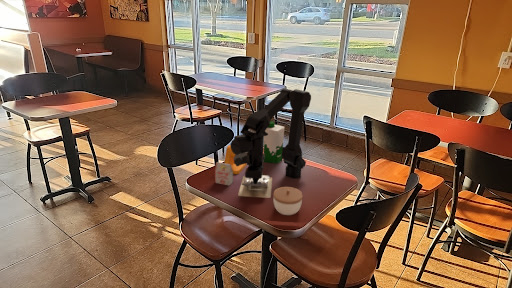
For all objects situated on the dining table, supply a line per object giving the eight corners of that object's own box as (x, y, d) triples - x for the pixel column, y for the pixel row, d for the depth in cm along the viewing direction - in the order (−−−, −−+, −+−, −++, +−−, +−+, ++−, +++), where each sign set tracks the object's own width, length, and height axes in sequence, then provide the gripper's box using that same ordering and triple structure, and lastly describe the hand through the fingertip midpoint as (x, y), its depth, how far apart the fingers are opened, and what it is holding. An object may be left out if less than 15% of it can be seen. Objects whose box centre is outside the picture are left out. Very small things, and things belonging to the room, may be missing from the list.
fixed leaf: (268, 177, 145) (269, 172, 144) (267, 188, 136) (267, 183, 135) (246, 176, 146) (246, 171, 145) (243, 186, 137) (244, 181, 136)
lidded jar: (271, 218, 118) (272, 196, 114) (273, 202, 128) (274, 181, 124) (301, 221, 116) (302, 198, 113) (301, 205, 126) (303, 183, 123)
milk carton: (269, 156, 169) (270, 119, 161) (284, 160, 164) (286, 122, 157) (260, 162, 162) (261, 123, 154) (276, 166, 157) (278, 127, 150)
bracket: (238, 176, 148) (238, 152, 143) (223, 173, 150) (223, 149, 145) (247, 166, 157) (247, 143, 152) (233, 164, 159) (233, 141, 155)
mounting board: (272, 179, 145) (272, 177, 145) (270, 199, 129) (270, 197, 129) (243, 178, 146) (243, 176, 146) (238, 198, 130) (238, 195, 130)
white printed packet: (218, 181, 143) (218, 160, 140) (233, 183, 141) (232, 162, 137) (215, 184, 140) (214, 163, 136) (229, 187, 138) (229, 166, 134)
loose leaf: (267, 187, 137) (268, 181, 138) (267, 186, 128) (267, 181, 128) (244, 185, 138) (244, 180, 138) (241, 185, 129) (242, 179, 129)
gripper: (238, 138, 134) (238, 172, 140) (231, 156, 117) (231, 194, 123) (265, 139, 134) (264, 173, 139) (262, 158, 116) (261, 196, 122)
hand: (255, 183), depth 131 cm, fingers closed
